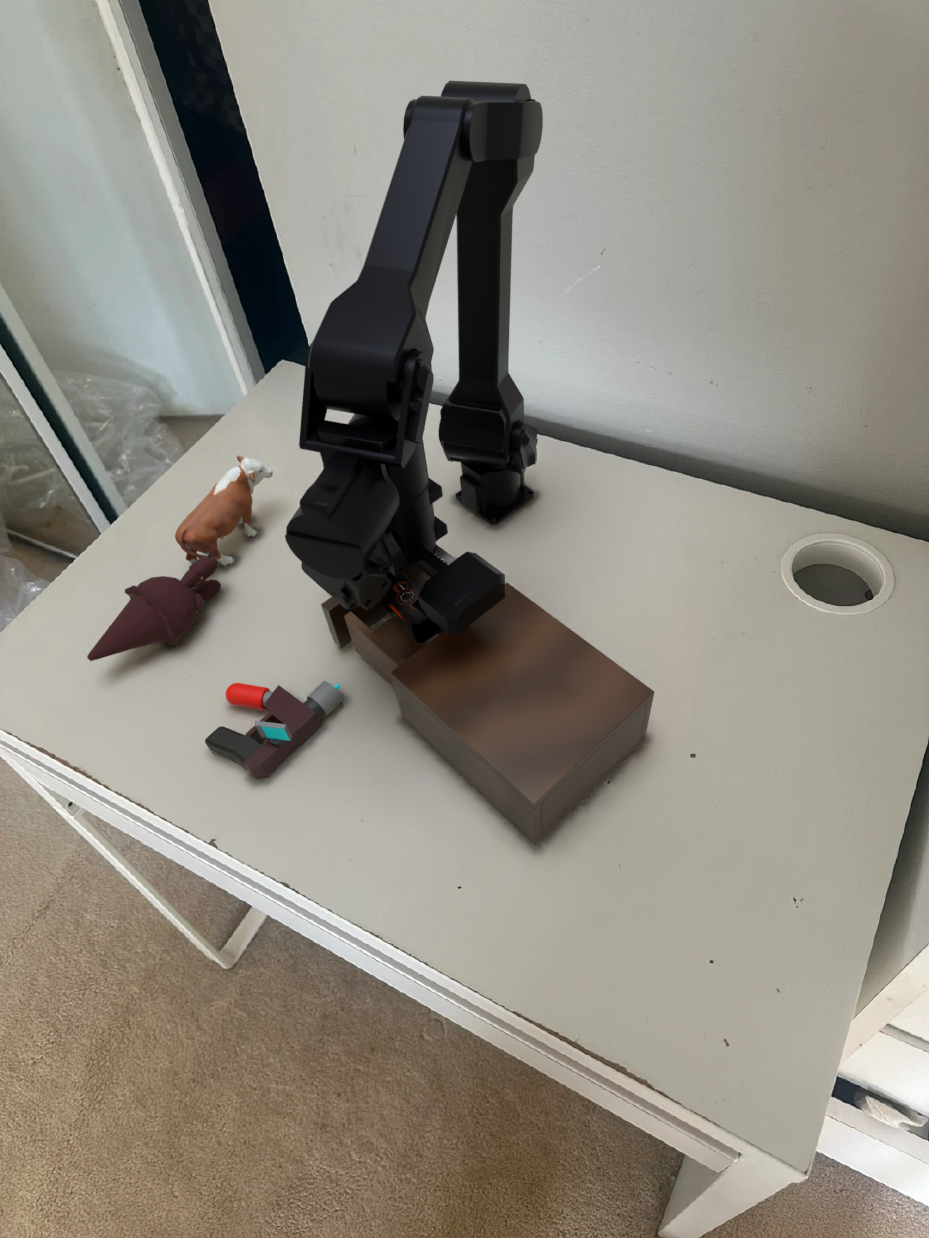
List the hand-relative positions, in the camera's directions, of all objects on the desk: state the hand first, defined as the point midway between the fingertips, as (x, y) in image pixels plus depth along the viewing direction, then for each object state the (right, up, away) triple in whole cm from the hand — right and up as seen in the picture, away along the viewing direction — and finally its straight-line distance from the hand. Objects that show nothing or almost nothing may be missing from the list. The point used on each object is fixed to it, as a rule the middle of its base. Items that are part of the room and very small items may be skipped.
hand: (417, 609), depth 72 cm
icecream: (-25, -2, +8) cm, 27 cm away
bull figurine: (-21, +8, +15) cm, 27 cm away
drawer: (0, -2, +4) cm, 5 cm away
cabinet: (+9, -11, -2) cm, 14 cm away
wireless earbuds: (+1, -1, +1) cm, 1 cm away
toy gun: (-13, -10, +1) cm, 17 cm away
